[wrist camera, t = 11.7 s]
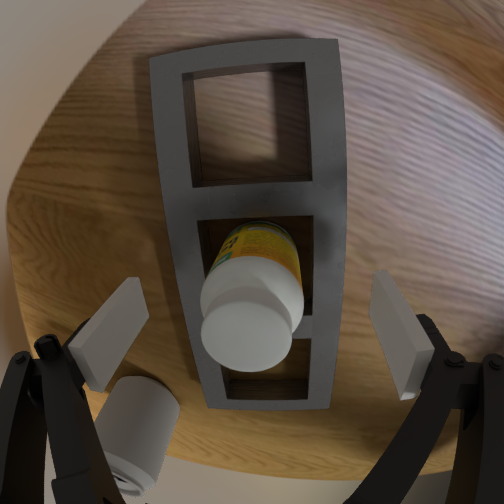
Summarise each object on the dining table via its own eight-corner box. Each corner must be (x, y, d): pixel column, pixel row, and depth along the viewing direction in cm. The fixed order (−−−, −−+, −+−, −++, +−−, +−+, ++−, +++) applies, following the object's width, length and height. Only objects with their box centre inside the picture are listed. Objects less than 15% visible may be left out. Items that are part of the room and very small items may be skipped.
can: (188, 388, 28) (155, 490, 17) (175, 422, 31) (147, 507, 20) (120, 359, 27) (67, 450, 16) (116, 398, 30) (77, 476, 19)
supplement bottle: (281, 297, 23) (278, 394, 14) (213, 273, 23) (175, 362, 14) (310, 233, 21) (329, 313, 12) (236, 206, 20) (201, 269, 12)
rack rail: (331, 49, 16) (337, 38, 13) (326, 388, 26) (329, 408, 24) (163, 64, 17) (148, 58, 15) (212, 388, 28) (207, 407, 25)
